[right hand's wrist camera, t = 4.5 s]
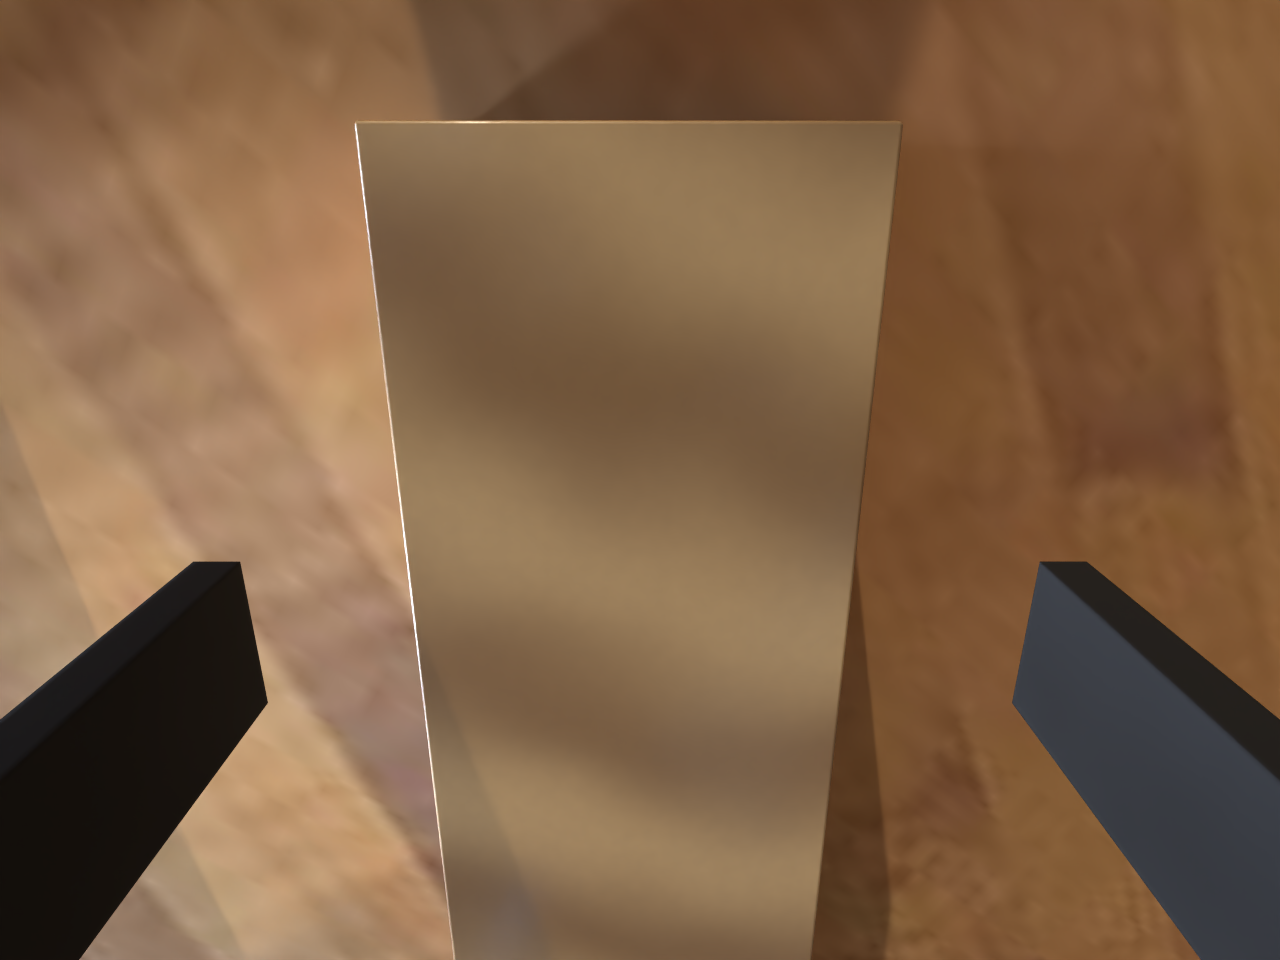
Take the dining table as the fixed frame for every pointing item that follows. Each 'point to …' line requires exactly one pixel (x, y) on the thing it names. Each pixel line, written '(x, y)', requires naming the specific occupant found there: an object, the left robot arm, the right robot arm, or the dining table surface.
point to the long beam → (630, 510)
